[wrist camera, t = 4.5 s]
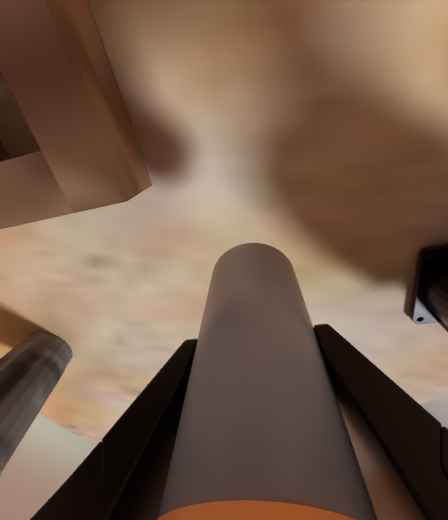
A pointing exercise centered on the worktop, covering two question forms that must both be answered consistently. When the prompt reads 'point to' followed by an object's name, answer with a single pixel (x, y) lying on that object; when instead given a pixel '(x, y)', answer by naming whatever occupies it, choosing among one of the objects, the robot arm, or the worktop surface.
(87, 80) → the socket block
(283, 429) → the peg
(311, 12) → the worktop surface
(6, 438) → the beverage cup
